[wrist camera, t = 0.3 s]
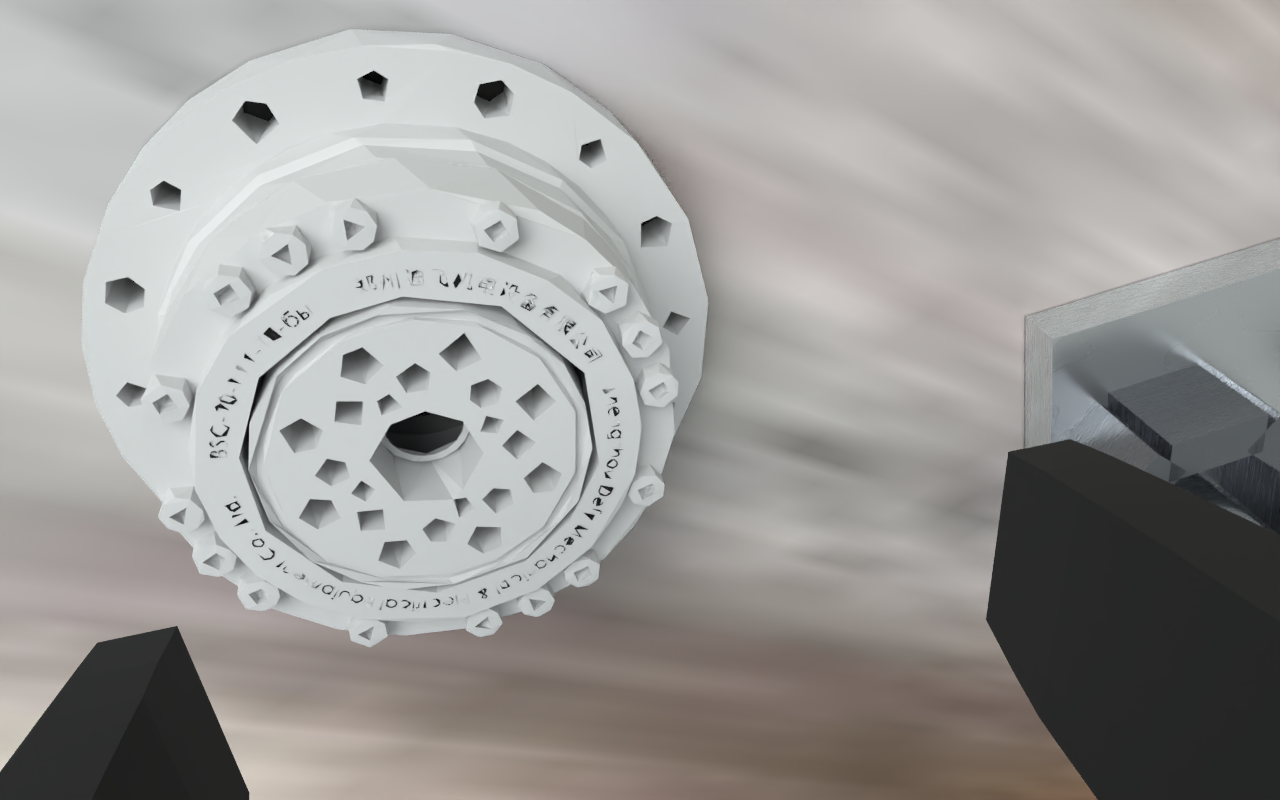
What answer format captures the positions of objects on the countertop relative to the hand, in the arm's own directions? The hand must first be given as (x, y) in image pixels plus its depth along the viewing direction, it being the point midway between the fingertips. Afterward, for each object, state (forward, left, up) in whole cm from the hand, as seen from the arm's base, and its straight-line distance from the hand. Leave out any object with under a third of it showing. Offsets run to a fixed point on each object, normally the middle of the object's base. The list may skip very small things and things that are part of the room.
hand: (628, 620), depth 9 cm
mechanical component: (-1, +2, -10) cm, 11 cm away
